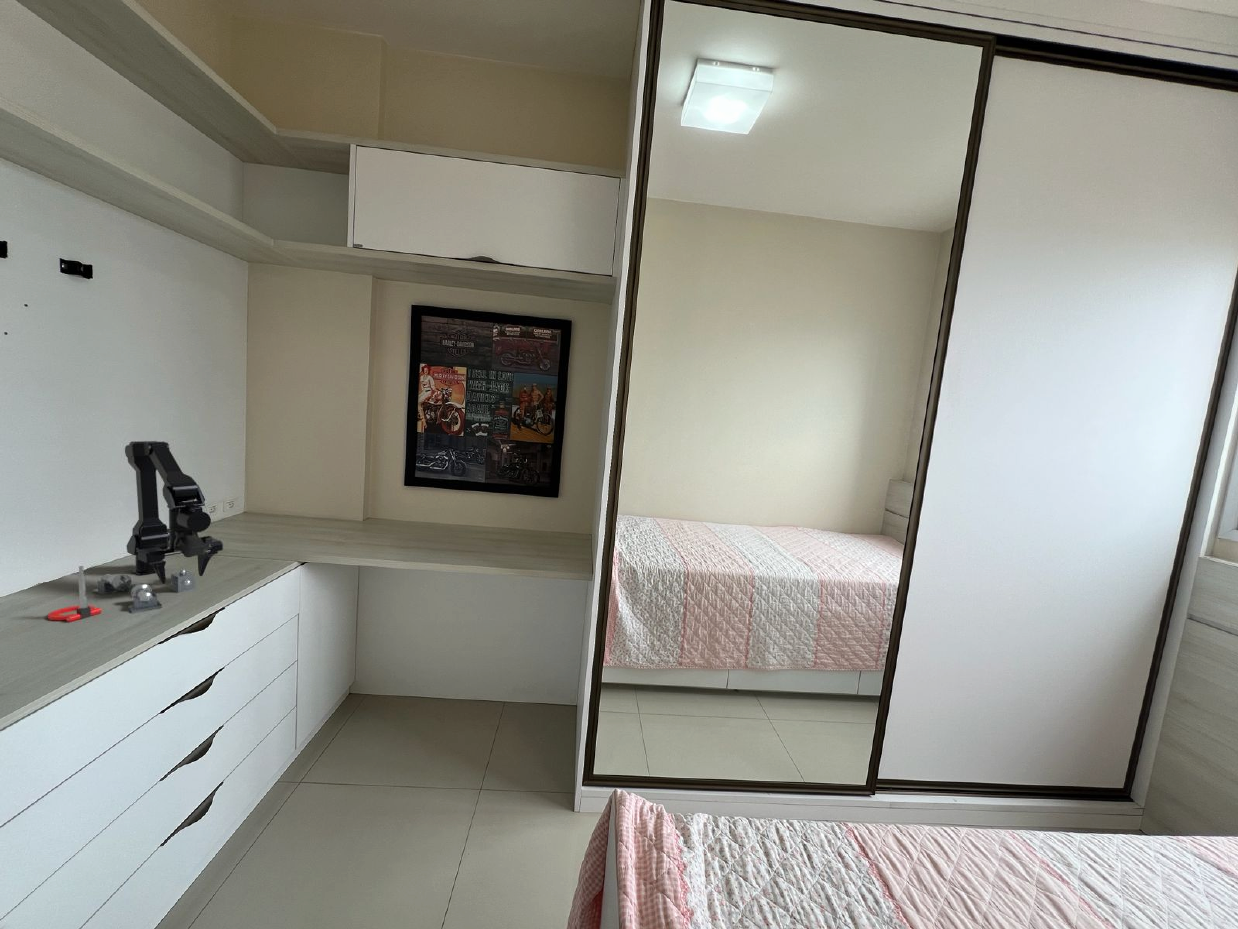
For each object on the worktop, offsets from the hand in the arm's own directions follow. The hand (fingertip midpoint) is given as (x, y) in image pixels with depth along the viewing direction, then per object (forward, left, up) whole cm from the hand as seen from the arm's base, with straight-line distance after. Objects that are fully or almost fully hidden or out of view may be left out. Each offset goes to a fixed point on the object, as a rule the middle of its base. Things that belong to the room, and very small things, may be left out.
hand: (182, 579), depth 162 cm
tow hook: (+1, -24, -3) cm, 24 cm away
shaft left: (-10, -12, -3) cm, 16 cm away
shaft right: (+6, -12, -3) cm, 13 cm away
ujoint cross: (0, 0, -3) cm, 3 cm away
